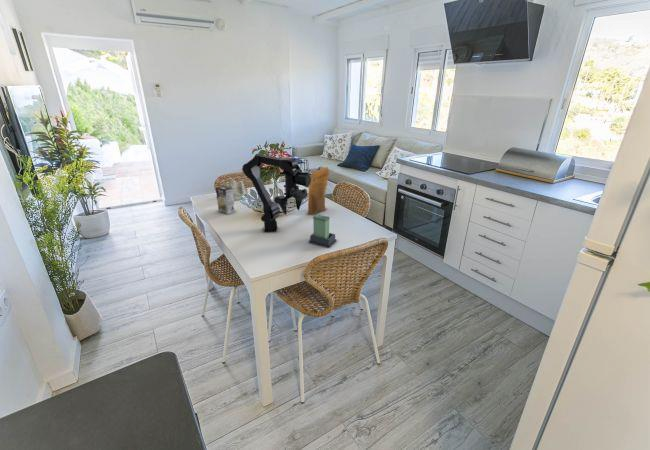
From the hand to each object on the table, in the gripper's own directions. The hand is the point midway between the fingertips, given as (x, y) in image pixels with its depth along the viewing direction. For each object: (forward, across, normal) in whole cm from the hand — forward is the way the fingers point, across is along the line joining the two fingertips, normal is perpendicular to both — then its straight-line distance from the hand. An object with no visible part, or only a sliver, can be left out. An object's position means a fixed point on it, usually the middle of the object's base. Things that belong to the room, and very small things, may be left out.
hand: (291, 212), depth 165 cm
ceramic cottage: (+13, +17, +77) cm, 80 cm away
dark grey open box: (+13, +4, -18) cm, 23 cm away
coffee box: (+13, -5, +56) cm, 58 cm away
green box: (+12, +4, -18) cm, 22 cm away
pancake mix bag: (+13, +35, +14) cm, 40 cm away
